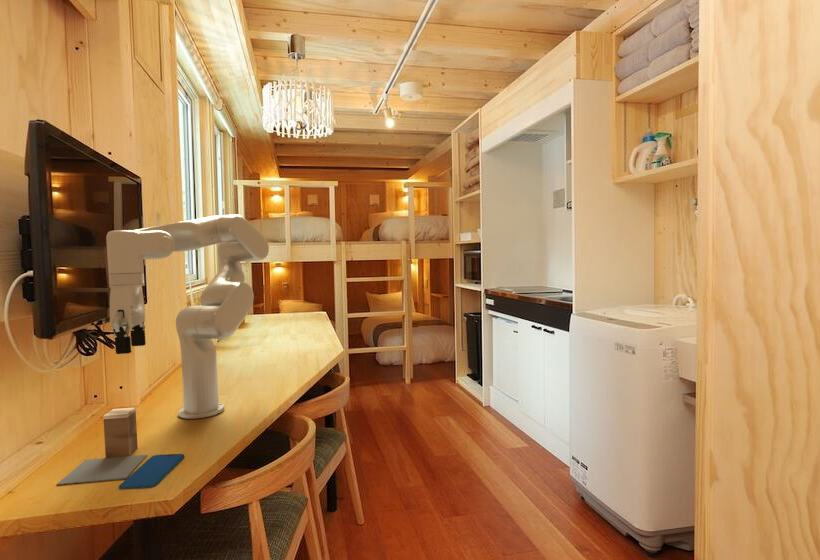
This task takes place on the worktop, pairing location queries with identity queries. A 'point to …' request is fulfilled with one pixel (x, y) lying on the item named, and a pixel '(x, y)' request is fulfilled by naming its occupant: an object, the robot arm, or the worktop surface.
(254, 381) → the worktop surface
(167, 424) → the worktop surface
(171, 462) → the smartphone
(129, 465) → the mat
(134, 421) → the walnut block
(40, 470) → the worktop surface
